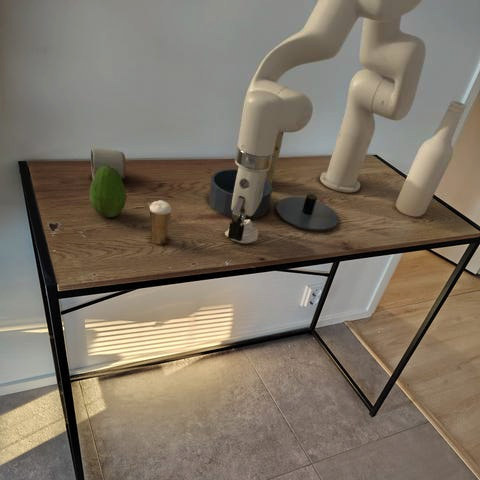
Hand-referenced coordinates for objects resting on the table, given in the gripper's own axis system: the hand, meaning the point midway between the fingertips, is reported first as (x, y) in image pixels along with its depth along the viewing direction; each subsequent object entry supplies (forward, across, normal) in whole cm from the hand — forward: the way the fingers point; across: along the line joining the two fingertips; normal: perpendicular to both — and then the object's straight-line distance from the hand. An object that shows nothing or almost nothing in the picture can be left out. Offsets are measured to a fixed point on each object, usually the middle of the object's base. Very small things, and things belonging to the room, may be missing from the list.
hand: (240, 228), depth 102 cm
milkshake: (+2, -11, +16) cm, 20 cm away
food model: (+2, +32, +3) cm, 32 cm away
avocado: (+2, -7, +30) cm, 31 cm away
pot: (+2, +16, +5) cm, 17 cm away
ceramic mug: (+2, +10, +40) cm, 41 cm away
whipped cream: (+2, 0, 0) cm, 2 cm away
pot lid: (+2, +20, -13) cm, 24 cm away
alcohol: (+3, +42, -41) cm, 59 cm away
